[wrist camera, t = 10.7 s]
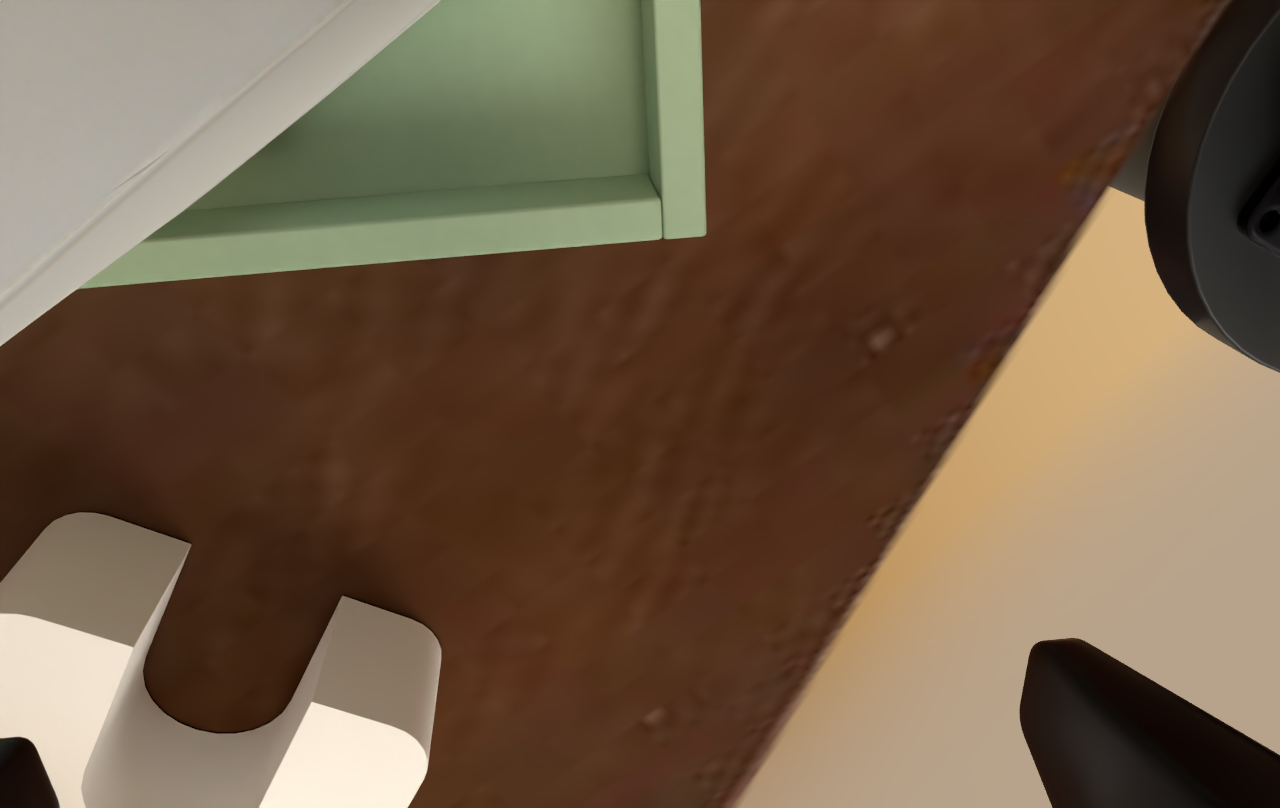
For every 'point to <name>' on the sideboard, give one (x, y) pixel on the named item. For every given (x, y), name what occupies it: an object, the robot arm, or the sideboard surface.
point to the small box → (149, 116)
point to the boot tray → (468, 148)
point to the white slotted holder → (172, 752)
